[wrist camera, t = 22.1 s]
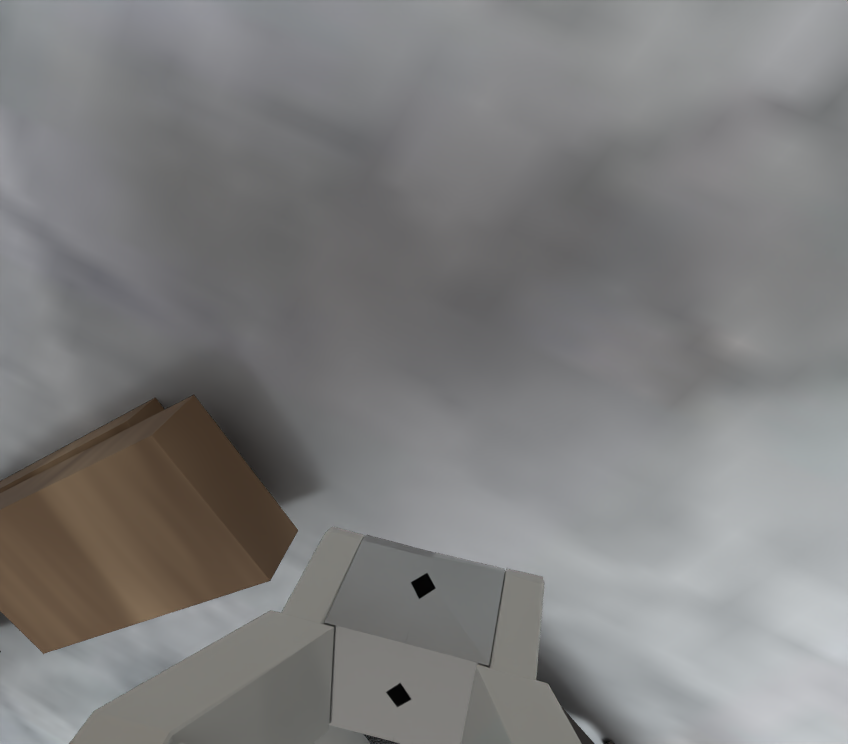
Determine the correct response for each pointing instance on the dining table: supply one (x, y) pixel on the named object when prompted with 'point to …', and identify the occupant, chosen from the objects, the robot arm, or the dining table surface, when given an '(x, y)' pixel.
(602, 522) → the dining table surface
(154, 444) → the walnut tile
